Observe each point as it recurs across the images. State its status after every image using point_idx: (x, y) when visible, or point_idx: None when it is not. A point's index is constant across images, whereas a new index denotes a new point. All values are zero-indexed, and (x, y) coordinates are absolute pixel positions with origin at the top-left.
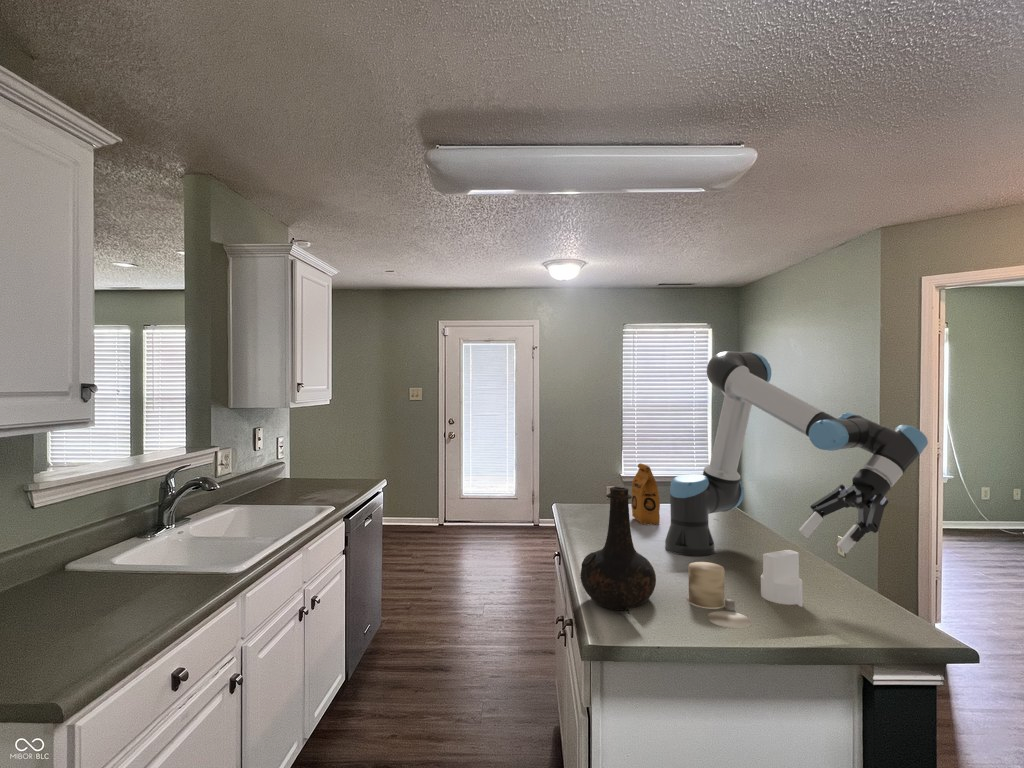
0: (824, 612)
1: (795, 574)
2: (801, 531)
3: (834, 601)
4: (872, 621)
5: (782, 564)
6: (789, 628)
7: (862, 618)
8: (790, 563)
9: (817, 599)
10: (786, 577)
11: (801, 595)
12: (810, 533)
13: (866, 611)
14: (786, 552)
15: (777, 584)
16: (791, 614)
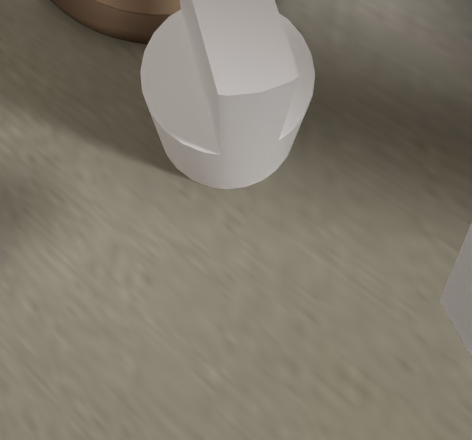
0: (119, 216)
1: (213, 124)
2: (467, 235)
3: (206, 333)
4: (7, 332)
5: (186, 3)
6: (37, 22)
7: (39, 315)
8: (202, 60)
9: (237, 279)
10: (198, 72)
11: (165, 144)
12: (461, 334)
13: (91, 386)
14: (240, 27)
15: (167, 19)
16: (130, 94)
